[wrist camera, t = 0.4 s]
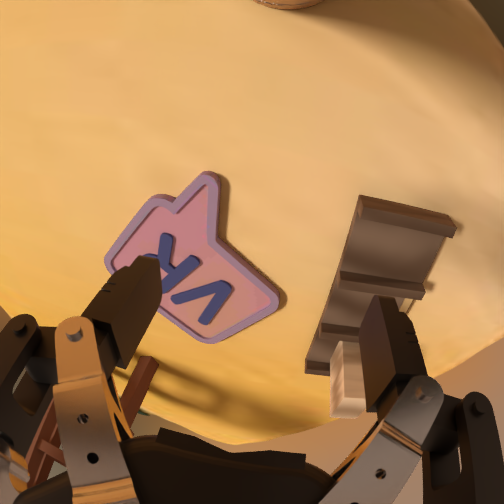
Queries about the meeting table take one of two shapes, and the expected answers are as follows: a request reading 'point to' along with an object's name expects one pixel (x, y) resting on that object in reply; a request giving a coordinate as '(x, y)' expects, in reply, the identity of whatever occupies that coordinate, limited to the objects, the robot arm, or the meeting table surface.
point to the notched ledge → (377, 270)
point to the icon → (195, 263)
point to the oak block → (346, 381)
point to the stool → (48, 436)
